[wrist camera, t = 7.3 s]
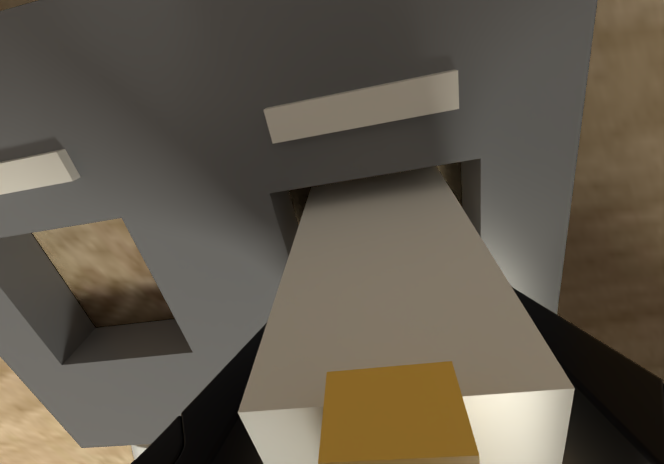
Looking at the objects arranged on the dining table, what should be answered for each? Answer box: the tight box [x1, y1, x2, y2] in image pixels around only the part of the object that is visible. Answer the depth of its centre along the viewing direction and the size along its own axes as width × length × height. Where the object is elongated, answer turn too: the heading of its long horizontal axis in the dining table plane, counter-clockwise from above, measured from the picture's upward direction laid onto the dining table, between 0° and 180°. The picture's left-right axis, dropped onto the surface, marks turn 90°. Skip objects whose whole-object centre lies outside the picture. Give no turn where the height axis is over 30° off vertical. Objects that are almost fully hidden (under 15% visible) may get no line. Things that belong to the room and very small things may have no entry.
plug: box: [238, 166, 575, 464], centre depth 8 cm, size 4×5×9 cm
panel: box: [0, 0, 597, 448], centre depth 12 cm, size 20×16×2 cm
